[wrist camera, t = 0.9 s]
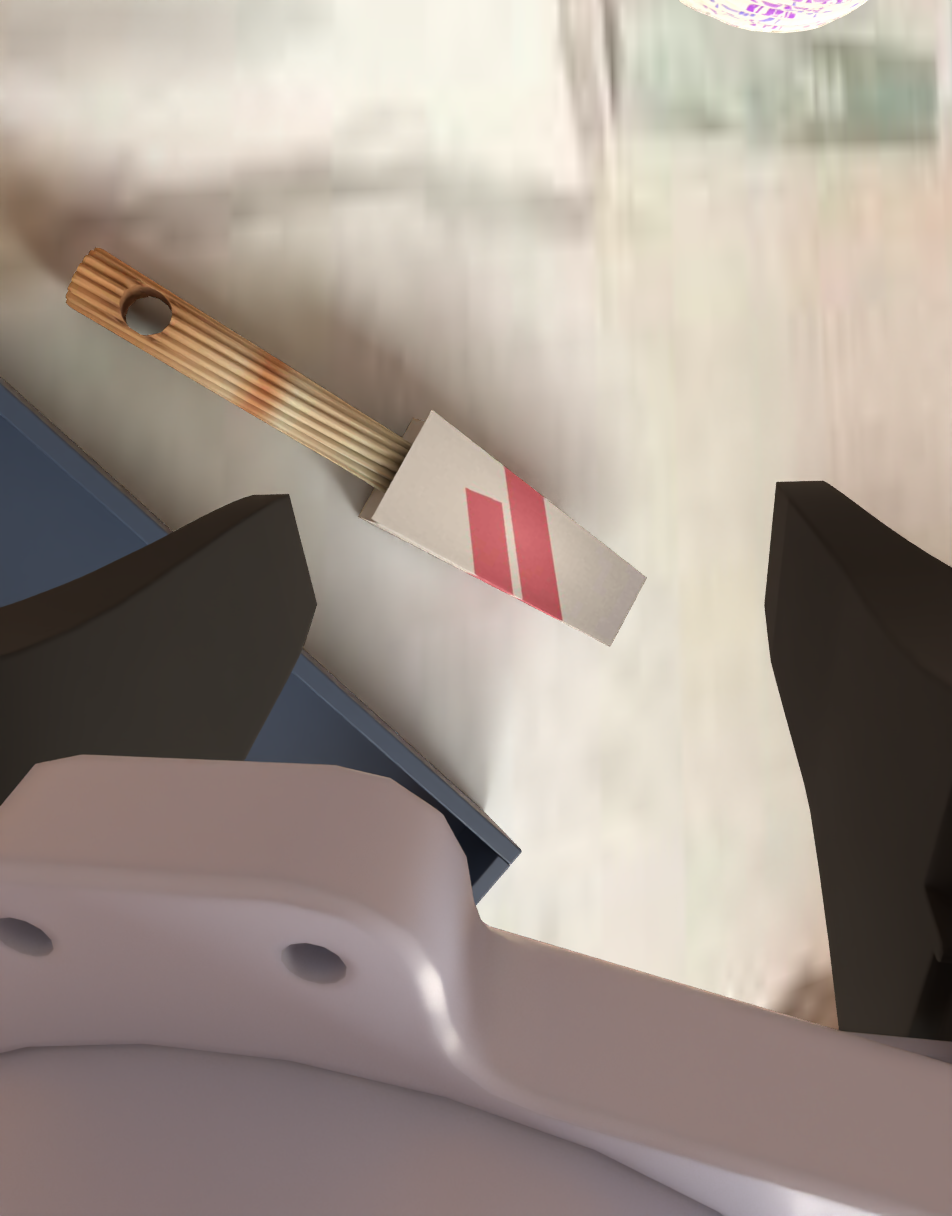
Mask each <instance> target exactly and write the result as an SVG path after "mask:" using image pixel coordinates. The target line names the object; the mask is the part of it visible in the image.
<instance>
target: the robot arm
mask: <svg viewBox="0 0 952 1216" xmlns="http://www.w3.org/2000/svg"><path fill="white" fill-rule="evenodd" d="M316 606H317V602H316V598H315V594H314V591H313V587H312V583H311V579H310V575H309V571H308V567H307V563H306V559H305V555H304V551H303V547H302V543H301V539H300V535H299V531H298V528H297V524H296V520H295V516H294V512H293V508H292V504H291V500H290V496H289V494H276V495H252V496H248V497H245V498H242V499H240V500H237V501H235V502H232V503H230V504H228V505H225V506H223V507H221V508H219V509H217V510H215V511H213V512H211V513H209V514H207V515H205V516H203V517H201V518H199V519H197V520H195V521H193V522H191V523H189V524H187V525H186V526H184V527H182V528H180V529H178V530H176V531H174V532H172V533H170V534H168V535H166V536H164V537H162V538H161V539H159V540H157V541H155V542H153V543H151V544H149V545H147V546H145V547H143V548H141V549H139V550H137V551H135V552H133V553H130V554H128V555H126V556H124V557H122V558H120V559H118V560H116V561H114V562H112V563H110V564H108V565H106V566H104V567H101V568H99V569H97V570H95V571H93V572H91V573H89V574H86V575H84V576H82V577H80V578H77V579H75V580H73V581H70V582H68V583H65V584H63V585H61V586H58V587H55V588H53V589H50V590H48V591H45V592H42V593H40V594H37V595H35V596H32V597H29V598H27V599H24V600H21V601H18V602H15V603H13V604H9V605H6V606H3V607H0V1216H952V567H950V566H948V565H947V564H945V563H943V562H941V561H940V560H938V559H936V558H935V557H933V556H931V555H930V554H928V553H926V552H925V551H923V550H922V549H920V548H919V547H917V546H916V545H914V544H912V543H911V542H909V541H908V540H906V539H905V538H903V537H902V536H900V535H899V534H897V533H896V532H895V531H893V530H892V529H890V528H889V527H887V526H886V525H885V524H883V523H882V522H880V521H879V520H878V519H876V518H875V517H874V516H872V515H871V514H869V513H868V512H867V511H865V510H864V509H863V508H861V507H860V506H859V505H857V504H856V503H855V502H853V501H852V500H851V499H849V498H848V497H847V496H845V495H844V494H842V493H841V492H840V491H838V490H837V489H835V488H834V487H833V486H831V485H830V484H828V483H826V482H824V481H797V482H776V491H775V502H774V512H773V522H772V532H771V543H770V553H769V563H768V574H767V584H766V594H765V605H764V606H765V615H766V624H767V633H768V642H769V650H770V658H771V663H772V667H773V671H774V675H775V679H776V683H777V686H778V690H779V694H780V697H781V701H782V705H783V709H784V712H785V716H786V719H787V723H788V727H789V730H790V734H791V738H792V741H793V745H794V748H795V752H796V756H797V759H798V763H799V767H800V770H801V774H802V777H803V781H804V785H805V789H806V794H807V799H808V803H809V808H810V812H811V819H812V826H813V832H814V839H815V846H816V853H817V859H818V866H819V873H820V880H821V888H822V895H823V903H824V910H825V918H826V925H827V933H828V940H829V949H830V957H831V966H832V974H833V983H834V991H835V1000H836V1008H837V1017H838V1025H839V1030H836V1029H833V1028H829V1027H826V1026H823V1025H819V1024H816V1023H812V1022H809V1021H806V1020H802V1019H799V1018H796V1017H792V1016H789V1015H786V1014H782V1013H779V1012H776V1011H772V1010H769V1009H765V1008H762V1007H759V1006H755V1005H752V1004H749V1003H745V1002H742V1001H739V1000H735V999H732V998H729V997H725V996H722V995H719V994H715V993H712V992H708V991H705V990H702V989H698V988H695V987H692V986H688V985H685V984H682V983H678V982H675V981H672V980H668V979H665V978H661V977H658V976H655V975H651V974H648V973H645V972H641V971H638V970H635V969H631V968H628V967H625V966H621V965H618V964H615V963H611V962H608V961H604V960H601V959H598V958H594V957H591V956H588V955H584V954H581V953H578V952H574V951H571V950H568V949H564V948H561V947H557V946H554V945H551V944H547V943H544V942H541V941H537V940H534V939H531V938H527V937H524V936H521V935H517V934H514V933H510V932H507V931H504V930H500V929H497V928H494V927H490V926H488V925H487V924H485V923H484V922H482V920H481V919H480V916H479V913H478V910H477V908H476V905H475V902H474V898H473V892H472V886H471V881H470V875H469V869H468V863H467V857H466V855H465V853H464V852H463V850H462V848H461V846H460V844H459V842H458V841H457V839H456V837H455V835H454V833H453V832H452V830H451V828H450V826H449V824H448V823H447V821H446V819H445V817H444V815H443V814H442V813H441V812H439V811H438V810H437V809H435V808H434V807H432V806H431V805H430V804H428V803H427V802H425V801H424V800H422V799H421V798H419V797H418V796H416V795H415V794H413V793H412V792H410V791H409V790H407V789H406V788H404V787H403V786H401V785H400V784H398V783H397V782H396V781H394V780H393V779H391V778H388V777H384V776H379V775H375V774H371V773H366V772H362V771H358V770H354V769H349V768H345V767H341V766H337V765H323V764H299V763H275V762H251V761H244V760H245V759H246V757H247V755H248V753H249V751H250V749H251V747H252V745H253V744H254V742H255V740H256V738H257V736H258V734H259V732H260V731H261V729H262V727H263V725H264V723H265V721H266V719H267V717H268V716H269V714H270V712H271V710H272V708H273V706H274V704H275V703H276V701H277V699H278V697H279V695H280V693H281V691H282V689H283V687H284V685H285V684H286V682H287V680H288V678H289V676H290V674H291V672H292V670H293V668H294V666H295V664H296V662H297V660H298V658H299V656H300V654H301V651H302V648H303V646H304V643H305V640H306V637H307V634H308V632H309V628H310V625H311V622H312V619H313V616H314V612H315V609H316Z"/></svg>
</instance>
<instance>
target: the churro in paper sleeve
mask: <svg viewBox="0 0 952 1216" xmlns="http://www.w3.org/2000/svg"><path fill="white" fill-rule="evenodd" d="M67 290H68V292H67V294H66V299H67V300H66V303H67V304H68V305H69V306H70V307H71V308H73V309H74V310H76V311H78V312H79V313H81V314H83V315H84V316H86V317H88V318H90V319H91V320H93V321H95V322H96V323H98V324H100V325H101V326H103V327H105V328H106V329H108V330H110V331H111V332H113V333H115V334H116V335H118V336H120V337H122V338H123V339H125V340H127V341H128V342H130V343H132V344H133V345H135V346H137V347H138V348H140V349H142V350H143V351H145V352H147V353H149V354H150V355H152V356H154V357H155V358H157V359H159V360H160V361H162V362H164V363H165V364H167V365H169V366H170V367H172V368H174V369H176V370H177V371H179V372H181V373H182V374H184V375H186V376H187V377H189V378H191V379H192V380H194V381H196V382H197V383H199V384H201V385H202V386H204V387H206V388H208V389H209V390H211V391H213V392H214V393H216V394H218V395H219V396H221V397H223V398H225V399H226V400H228V401H230V402H231V403H233V404H235V405H236V406H238V407H240V408H242V409H243V410H245V411H247V412H248V413H250V414H252V415H254V416H255V417H257V418H259V419H260V420H262V421H264V422H265V423H267V424H269V425H271V426H272V427H274V428H276V429H277V430H279V431H281V432H283V433H284V434H286V435H288V436H289V437H291V438H293V439H294V440H296V441H298V442H300V443H301V444H303V445H305V446H306V447H308V448H310V449H312V450H313V451H315V452H317V453H318V454H320V455H322V456H324V457H325V458H327V459H329V460H330V461H332V462H334V463H335V464H337V465H339V466H341V467H342V468H344V469H345V470H347V471H349V472H350V473H352V474H354V475H355V476H357V477H359V478H360V479H362V480H363V481H365V482H367V483H368V484H370V485H372V486H373V487H374V489H373V491H372V493H371V494H370V496H369V498H368V500H367V502H366V503H365V505H364V507H363V509H362V511H361V512H360V514H359V516H358V517H359V518H361V519H363V520H365V521H367V522H369V523H371V524H373V525H375V526H377V527H379V528H381V529H383V530H385V531H387V532H388V533H390V534H392V535H394V536H396V537H398V538H400V539H402V540H404V541H406V542H408V543H410V544H412V545H414V546H416V547H418V548H420V549H421V550H423V551H425V552H427V553H429V554H431V555H433V556H435V557H437V558H439V559H441V560H443V561H445V562H447V563H449V564H451V565H453V566H454V567H456V568H458V569H460V570H462V571H464V572H466V573H468V574H470V575H472V576H474V577H476V578H478V579H480V580H482V581H484V582H486V583H487V584H489V585H491V586H493V587H495V588H497V589H499V590H501V591H503V592H505V593H507V594H509V595H511V596H513V597H515V598H517V599H519V600H520V601H522V602H524V603H526V604H528V605H530V606H532V607H534V608H536V609H538V610H540V611H542V612H544V613H546V614H548V615H550V616H552V617H553V618H555V619H557V620H559V621H561V622H563V623H565V624H567V625H569V626H571V627H573V628H575V629H577V630H579V631H581V632H583V633H585V634H587V635H588V636H590V637H592V638H594V639H596V640H598V641H600V642H602V643H604V644H606V645H608V646H611V644H612V643H613V641H614V639H615V637H616V635H617V633H618V631H619V629H620V627H621V626H622V624H623V622H624V620H625V618H626V616H627V614H628V612H629V610H630V609H631V607H632V605H633V603H634V601H635V599H636V597H637V595H638V594H639V592H640V590H641V588H642V586H643V584H644V582H645V580H646V578H647V577H645V576H644V575H643V574H642V573H640V572H639V571H638V570H636V569H635V568H634V567H633V566H631V565H630V564H629V563H628V562H626V561H625V560H624V559H622V558H621V557H620V556H619V555H617V554H616V553H615V552H613V551H612V550H611V549H610V548H608V547H607V546H606V545H605V544H603V543H602V542H601V541H599V540H598V539H597V538H596V537H594V536H593V535H592V534H590V533H589V532H588V531H587V530H585V529H584V528H583V527H581V526H580V525H579V524H578V523H576V522H575V521H574V520H573V519H571V518H570V517H569V516H567V515H566V514H565V513H564V512H562V511H561V510H560V509H558V508H557V507H556V506H555V505H553V504H552V503H551V502H550V501H548V500H547V499H546V498H544V497H543V496H542V495H541V494H539V493H538V492H537V491H535V490H534V489H533V488H532V487H530V486H529V485H528V484H527V483H525V482H524V481H523V480H521V479H520V478H519V477H518V476H516V475H515V474H514V473H512V472H511V471H510V470H509V469H507V468H506V467H505V466H503V465H502V464H501V463H500V462H498V461H497V460H496V459H495V458H493V457H492V456H491V455H489V454H488V453H487V452H486V451H484V450H483V449H482V448H480V447H479V446H478V445H477V444H475V443H474V442H473V441H472V440H470V439H469V438H468V437H466V436H465V435H464V434H463V433H461V432H460V431H459V430H457V429H456V428H455V427H454V426H452V425H451V424H450V423H448V422H447V421H446V420H445V419H443V418H442V417H441V416H440V415H438V414H437V413H436V412H434V411H433V410H432V411H431V412H430V414H429V416H428V418H427V420H426V421H422V420H419V419H415V418H413V419H412V421H411V422H410V424H409V426H408V428H407V430H406V431H405V433H404V435H403V437H400V436H399V435H397V434H396V433H394V432H392V431H391V430H389V429H388V428H386V427H384V426H383V425H381V424H380V423H378V422H376V421H375V420H373V419H371V418H370V417H368V416H367V415H365V414H363V413H362V412H360V411H359V410H357V409H355V408H354V407H352V406H351V405H349V404H348V403H346V402H344V401H343V400H341V399H340V398H338V397H337V396H335V395H334V394H332V393H330V392H329V391H327V390H326V389H324V388H323V387H321V386H319V385H318V384H316V383H315V382H313V381H312V380H310V379H308V378H307V377H305V376H304V375H302V374H301V373H299V372H297V371H296V370H294V369H293V368H291V367H289V366H288V365H286V364H285V363H283V362H281V361H280V360H278V359H277V358H275V357H273V356H272V355H270V354H269V353H267V352H266V351H264V350H262V349H261V348H259V347H258V346H256V345H254V344H253V343H251V342H250V341H248V340H246V339H245V338H243V337H242V336H240V335H238V334H237V333H235V332H234V331H232V330H231V329H229V328H227V327H226V326H224V325H223V324H221V323H219V322H218V321H216V320H215V319H213V318H211V317H210V316H208V315H207V314H205V313H203V312H202V311H200V310H199V309H197V308H196V307H194V306H192V305H191V304H189V303H188V302H186V301H184V300H183V299H181V298H180V297H178V296H176V295H175V294H173V293H172V292H170V291H168V290H167V289H165V288H164V287H162V286H160V285H159V284H157V283H156V282H154V281H153V280H151V279H149V278H148V277H146V276H145V275H143V274H141V273H140V272H138V271H137V270H135V269H133V268H132V267H130V266H129V265H127V264H125V263H124V262H122V261H121V260H119V259H118V258H116V257H114V256H113V255H111V254H110V253H108V252H106V251H105V250H103V249H101V248H96V247H95V249H94V250H90V252H89V254H88V255H86V256H85V257H84V259H83V261H82V263H80V264H79V266H78V267H77V271H76V272H75V273H74V275H73V277H72V281H71V283H70V285H69V286H68V289H67ZM148 296H151V297H154V298H158V299H160V300H161V301H163V302H164V303H165V304H166V305H168V307H169V308H170V310H171V311H172V317H171V321H170V324H169V325H168V326H167V327H166V328H165V329H164V330H163V331H162V332H160V333H157V334H152V335H148V336H146V335H140V334H139V333H137V332H136V331H134V330H132V329H131V328H129V326H128V325H127V323H126V314H127V311H128V308H129V307H130V306H131V305H132V304H133V303H134V302H135V301H136V299H140V298H146V297H148Z"/></svg>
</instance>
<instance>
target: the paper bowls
mask: <svg viewBox="0 0 952 1216" xmlns="http://www.w3.org/2000/svg"><path fill="white" fill-rule="evenodd" d="M679 1H680V2H681V3H683V4H684V5H686V6H688V7H689V8H691V9H693V10H695V11H697V12H700V13H703V14H705V15H707V16H710V17H713V18H715V19H717V20H719V21H721V22H724V23H726V24H728V25H731V26H734V27H738V28H742V29H747V30H750V31H764V32H777V33H787V32H797V31H806V30H810V29H814V28H818V27H821V26H823V25H826V24H828V23H830V22H832V21H834V20H836V19H838V18H840V17H843V16H845V15H846V14H848V13H850V12H852V11H853V10H855V9H856V8H857V7H859V6H860V5H862V4H863V3H865V2H867V1H868V0H679Z"/></svg>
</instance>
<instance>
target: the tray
mask: <svg viewBox="0 0 952 1216" xmlns="http://www.w3.org/2000/svg"><path fill="white" fill-rule="evenodd" d="M172 532H173V531H172V530H170V529H169V528H168V527H167V526H166V525H165V524H164V523H163V522H162V521H160V520H159V519H158V518H157V517H156V516H155V515H154V514H153V513H152V512H150V511H149V510H148V509H147V508H146V507H145V506H144V505H143V504H142V503H140V502H139V501H138V500H137V499H136V498H135V497H134V496H133V495H132V494H130V493H129V492H128V491H127V490H126V489H125V488H124V487H123V486H122V485H120V484H119V483H118V482H117V481H116V480H115V479H114V478H113V477H112V476H110V475H109V474H108V473H107V472H106V471H105V470H104V469H103V468H102V467H100V466H99V465H98V464H97V463H96V462H95V461H94V460H93V459H92V458H90V457H89V456H88V455H87V454H86V453H85V452H84V451H83V450H82V449H80V448H79V447H78V446H77V445H76V444H75V443H74V442H73V441H72V440H70V439H69V438H68V437H67V436H66V435H65V434H64V433H63V432H62V431H60V430H59V429H58V428H57V427H56V426H55V425H54V424H53V423H52V422H50V421H49V420H48V419H47V418H46V417H45V416H44V415H43V414H42V413H40V412H39V411H38V410H37V409H36V408H35V407H34V406H33V405H32V404H30V403H29V402H28V401H27V400H26V399H25V398H24V397H23V396H22V395H20V394H19V393H18V392H17V391H16V390H15V389H14V388H13V387H11V386H10V385H9V384H8V383H7V382H6V381H5V380H4V379H3V378H1V377H0V607H3V606H6V605H9V604H13V603H15V602H18V601H21V600H24V599H27V598H29V597H32V596H35V595H37V594H40V593H42V592H45V591H48V590H50V589H53V588H55V587H58V586H61V585H63V584H65V583H68V582H70V581H73V580H75V579H77V578H80V577H82V576H84V575H86V574H89V573H91V572H93V571H95V570H97V569H99V568H101V567H104V566H106V565H108V564H110V563H112V562H114V561H116V560H118V559H120V558H122V557H124V556H126V555H128V554H130V553H133V552H135V551H137V550H139V549H141V548H143V547H145V546H147V545H149V544H151V543H153V542H155V541H157V540H159V539H161V538H162V537H164V536H166V535H168V534H170V533H172ZM244 761H251V762H275V763H299V764H323V765H337V766H341V767H345V768H349V769H354V770H358V771H362V772H366V773H371V774H375V775H379V776H384V777H388V778H391V779H393V780H394V781H396V782H397V783H398V784H400V785H401V786H403V787H404V788H406V789H407V790H409V791H410V792H412V793H413V794H415V795H416V796H418V797H419V798H421V799H422V800H424V801H425V802H427V803H428V804H430V805H431V806H432V807H434V808H435V809H437V810H438V811H439V812H441V813H442V814H443V815H444V817H445V819H446V821H447V823H448V824H449V826H450V828H451V830H452V832H453V833H454V835H455V837H456V839H457V841H458V842H459V844H460V846H461V848H462V850H463V852H464V853H465V855H466V857H467V863H468V869H469V875H470V881H471V886H472V892H473V898H474V902H475V905H477V904H478V903H479V901H480V900H481V899H482V898H483V897H484V896H485V894H486V893H487V892H488V891H489V890H490V889H491V887H492V886H493V885H494V884H495V883H496V882H497V880H498V879H499V878H500V877H501V876H502V875H503V873H504V872H505V871H506V870H507V869H508V868H509V866H510V865H509V864H512V863H513V861H514V860H515V859H516V858H517V857H518V856H519V854H520V853H521V852H522V851H521V849H520V848H519V847H518V846H517V845H516V844H515V843H514V842H513V841H512V840H511V839H510V838H509V837H508V836H507V835H506V834H505V833H504V832H503V831H502V830H501V828H500V827H499V826H498V825H497V824H496V823H495V822H494V821H493V820H492V819H491V818H490V817H489V816H488V815H487V814H486V813H485V812H484V811H483V810H482V809H480V808H479V807H478V806H477V805H476V804H475V803H474V802H473V801H472V800H470V799H469V798H468V797H467V796H466V795H465V794H464V793H463V792H462V791H460V790H459V789H458V788H457V787H456V786H455V785H454V784H453V783H452V782H450V781H449V780H448V779H447V778H446V777H445V776H444V775H443V774H442V773H440V772H439V771H438V770H437V769H436V768H435V767H434V766H433V765H432V764H430V763H429V762H428V761H427V760H426V759H425V758H424V757H423V756H422V755H420V754H419V753H418V752H417V751H416V750H415V749H414V748H413V747H412V746H410V745H409V744H408V743H407V742H406V741H405V740H404V739H403V738H402V737H400V736H399V735H398V734H397V733H396V732H395V731H394V730H393V729H392V728H390V727H389V726H388V725H387V724H386V723H385V722H384V721H383V720H382V719H380V718H379V717H378V716H377V715H376V714H375V713H374V712H373V711H372V710H370V709H369V708H368V707H367V706H366V705H365V704H364V703H363V702H362V701H360V700H359V699H358V698H357V697H356V696H355V695H354V694H353V693H352V692H350V691H349V690H348V689H347V688H346V687H345V686H344V685H343V684H342V683H340V682H339V681H338V680H337V679H336V678H335V677H334V676H333V675H332V674H330V673H329V672H328V671H327V670H326V669H325V668H324V667H323V666H322V665H320V664H319V663H318V662H317V661H316V660H315V659H314V658H313V657H312V656H310V655H309V654H308V653H307V652H306V651H305V650H304V649H303V648H302V651H301V654H300V656H299V658H298V660H297V662H296V664H295V666H294V668H293V670H292V672H291V674H290V676H289V678H288V680H287V682H286V684H285V685H284V687H283V689H282V691H281V693H280V695H279V697H278V699H277V701H276V703H275V704H274V706H273V708H272V710H271V712H270V714H269V716H268V717H267V719H266V721H265V723H264V725H263V727H262V729H261V731H260V732H259V734H258V736H257V738H256V740H255V742H254V744H253V745H252V747H251V749H250V751H249V753H248V755H247V757H246V759H245V760H244Z"/></svg>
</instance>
